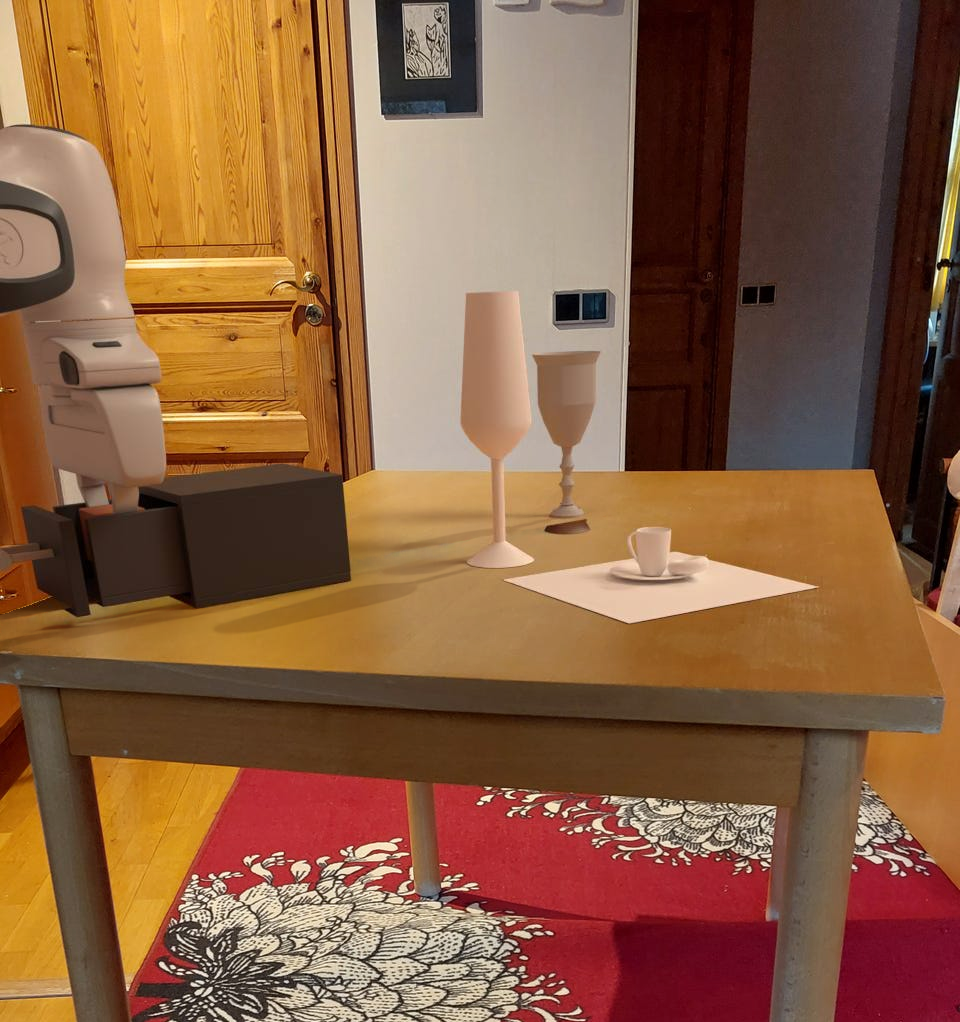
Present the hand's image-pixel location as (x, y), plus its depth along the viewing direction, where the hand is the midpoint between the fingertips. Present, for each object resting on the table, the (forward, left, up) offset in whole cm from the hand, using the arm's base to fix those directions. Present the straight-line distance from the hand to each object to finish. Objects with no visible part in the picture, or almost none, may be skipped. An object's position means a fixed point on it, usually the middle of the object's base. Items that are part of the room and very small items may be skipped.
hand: (114, 531), depth 102 cm
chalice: (+50, -1, -7) cm, 50 cm away
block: (0, 0, -2) cm, 3 cm away
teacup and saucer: (+39, -27, -7) cm, 48 cm away
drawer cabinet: (+12, 0, -6) cm, 14 cm away
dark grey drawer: (-1, 0, -6) cm, 6 cm away
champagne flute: (+35, -9, -7) cm, 37 cm away
